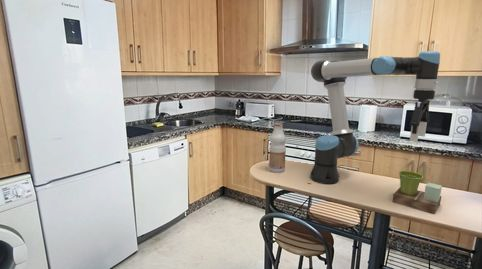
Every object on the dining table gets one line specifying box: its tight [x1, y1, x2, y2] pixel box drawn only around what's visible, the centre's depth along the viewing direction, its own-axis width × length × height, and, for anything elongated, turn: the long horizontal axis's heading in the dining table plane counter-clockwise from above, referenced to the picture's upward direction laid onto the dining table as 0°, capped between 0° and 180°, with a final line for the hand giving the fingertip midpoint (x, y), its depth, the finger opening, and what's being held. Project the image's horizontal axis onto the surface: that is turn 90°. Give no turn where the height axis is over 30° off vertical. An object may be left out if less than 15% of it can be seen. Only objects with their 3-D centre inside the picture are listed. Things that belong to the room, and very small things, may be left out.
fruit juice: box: [268, 122, 287, 174], centre depth 164 cm, size 9×9×28 cm
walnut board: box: [392, 187, 442, 215], centre depth 125 cm, size 16×12×4 cm
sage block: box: [424, 182, 443, 202], centre depth 120 cm, size 5×5×6 cm
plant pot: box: [398, 170, 424, 195], centre depth 126 cm, size 9×9×9 cm
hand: (417, 138), depth 124 cm, fingers open, 13 cm apart
